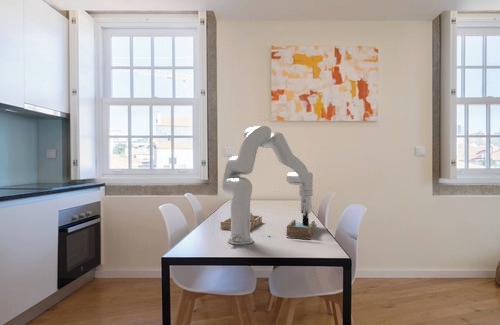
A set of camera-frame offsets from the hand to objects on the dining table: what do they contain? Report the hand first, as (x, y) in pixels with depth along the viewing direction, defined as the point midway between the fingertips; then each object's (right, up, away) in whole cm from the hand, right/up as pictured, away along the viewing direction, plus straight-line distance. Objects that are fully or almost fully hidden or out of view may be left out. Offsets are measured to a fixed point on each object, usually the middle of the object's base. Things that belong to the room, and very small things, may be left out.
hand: (305, 224), depth 175 cm
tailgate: (-2, -1, -5) cm, 6 cm away
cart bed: (-5, -3, -14) cm, 15 cm away
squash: (-37, -3, +11) cm, 38 cm away
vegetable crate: (-37, -2, +9) cm, 38 cm away
